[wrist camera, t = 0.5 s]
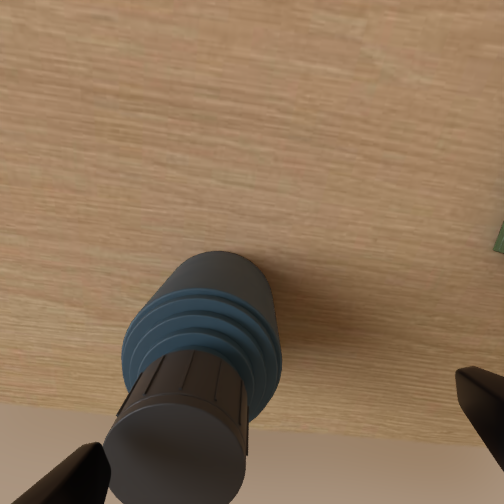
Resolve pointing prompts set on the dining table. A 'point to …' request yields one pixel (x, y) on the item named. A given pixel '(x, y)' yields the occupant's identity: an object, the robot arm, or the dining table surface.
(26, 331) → the dining table surface
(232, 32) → the dining table surface
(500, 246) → the tray
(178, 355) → the flask cap
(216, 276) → the flask
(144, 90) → the dining table surface
